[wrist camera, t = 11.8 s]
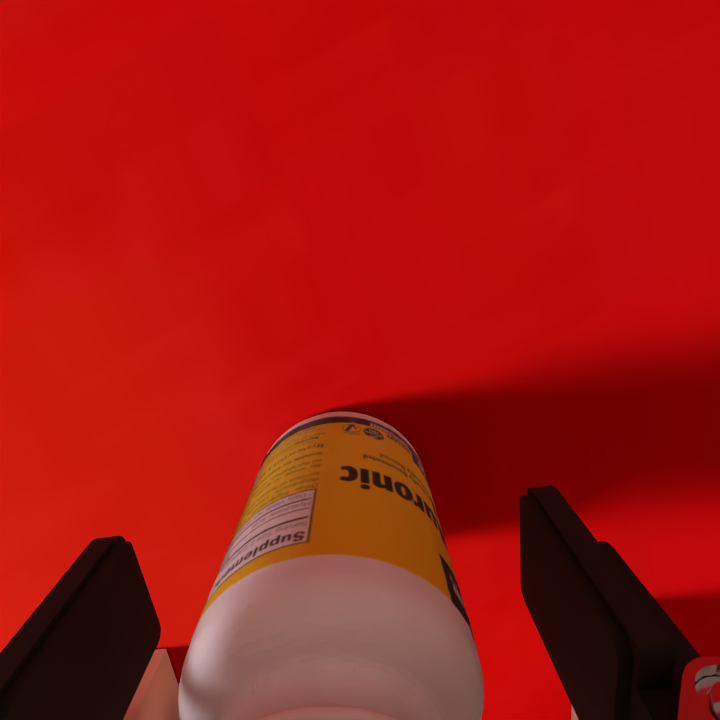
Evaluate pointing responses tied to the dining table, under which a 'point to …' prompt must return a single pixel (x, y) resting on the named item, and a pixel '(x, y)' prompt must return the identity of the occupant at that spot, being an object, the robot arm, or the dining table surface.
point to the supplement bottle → (335, 591)
